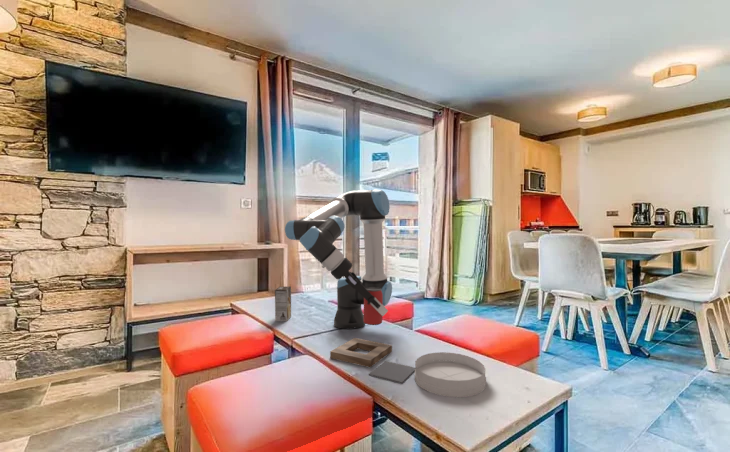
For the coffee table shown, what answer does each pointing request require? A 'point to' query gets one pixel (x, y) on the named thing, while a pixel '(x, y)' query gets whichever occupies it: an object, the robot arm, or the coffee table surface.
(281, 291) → the coffee box
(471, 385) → the dish
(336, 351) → the pocket tray
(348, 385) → the coffee table surface
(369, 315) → the beer can
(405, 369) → the coaster
